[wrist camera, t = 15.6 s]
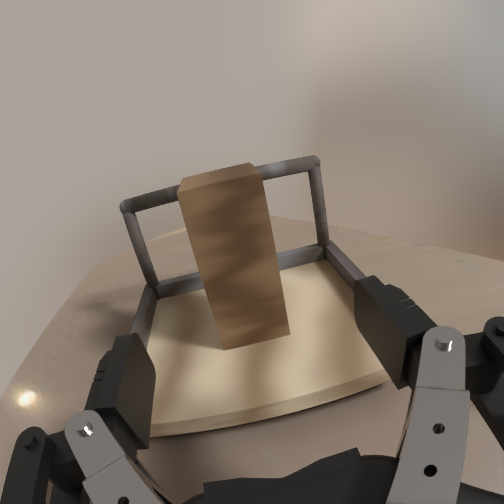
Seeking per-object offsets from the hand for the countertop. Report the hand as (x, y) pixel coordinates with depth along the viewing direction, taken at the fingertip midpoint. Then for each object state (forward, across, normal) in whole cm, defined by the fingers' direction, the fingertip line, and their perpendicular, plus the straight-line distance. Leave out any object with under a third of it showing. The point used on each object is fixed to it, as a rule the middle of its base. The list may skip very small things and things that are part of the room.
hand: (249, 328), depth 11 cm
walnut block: (+12, 0, +8) cm, 14 cm away
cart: (+12, 0, +12) cm, 17 cm away
